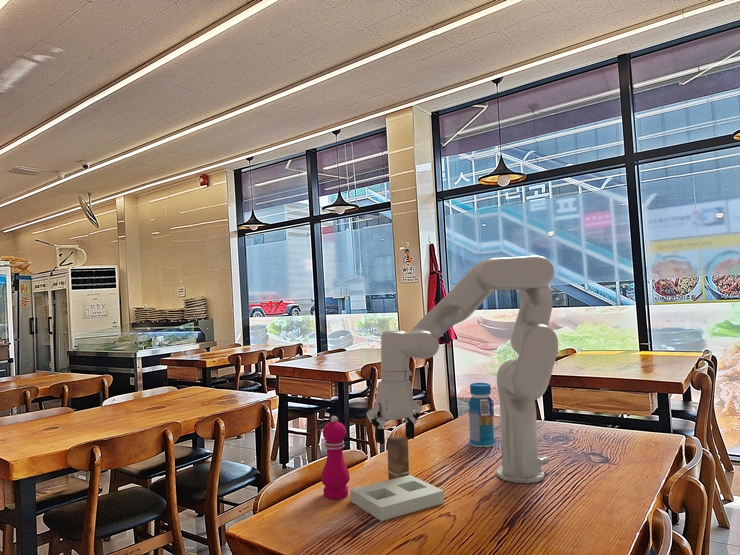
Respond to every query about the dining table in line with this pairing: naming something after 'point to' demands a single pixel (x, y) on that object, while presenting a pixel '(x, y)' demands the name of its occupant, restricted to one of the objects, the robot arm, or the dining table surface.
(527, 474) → the robot arm
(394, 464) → the peg
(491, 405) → the beverage bottle
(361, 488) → the board
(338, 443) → the pepper mill
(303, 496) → the dining table surface
